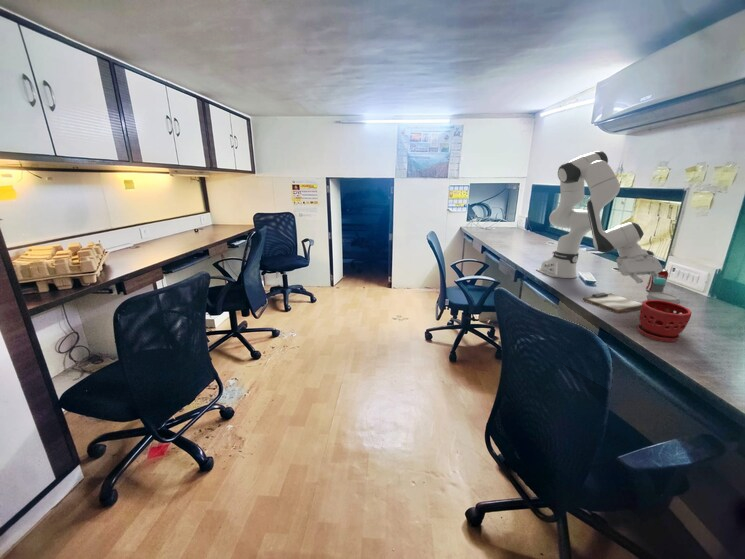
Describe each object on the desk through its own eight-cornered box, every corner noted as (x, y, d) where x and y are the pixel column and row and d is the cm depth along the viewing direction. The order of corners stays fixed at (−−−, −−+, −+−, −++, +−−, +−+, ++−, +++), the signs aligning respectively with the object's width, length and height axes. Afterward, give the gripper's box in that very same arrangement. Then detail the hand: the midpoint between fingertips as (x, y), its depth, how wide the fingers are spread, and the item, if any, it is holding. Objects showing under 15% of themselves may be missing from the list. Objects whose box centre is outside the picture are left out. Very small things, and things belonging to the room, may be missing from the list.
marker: (644, 305, 142) (652, 277, 138) (650, 304, 143) (658, 276, 139) (654, 309, 138) (662, 280, 134) (660, 307, 140) (668, 279, 136)
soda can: (666, 294, 156) (673, 271, 153) (650, 293, 158) (657, 270, 154) (657, 289, 163) (663, 267, 159) (642, 289, 164) (648, 267, 160)
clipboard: (582, 300, 149) (583, 295, 148) (610, 295, 155) (611, 291, 154) (617, 313, 134) (618, 307, 134) (646, 307, 140) (647, 302, 140)
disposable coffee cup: (633, 318, 129) (641, 291, 125) (657, 319, 128) (665, 291, 125) (652, 329, 120) (661, 300, 116) (678, 329, 119) (687, 300, 116)
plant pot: (626, 331, 118) (634, 302, 114) (648, 326, 122) (657, 297, 119) (667, 348, 106) (677, 315, 103) (690, 341, 111) (701, 310, 107)
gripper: (620, 253, 142) (636, 280, 136) (656, 251, 146) (673, 277, 140) (609, 260, 147) (623, 286, 141) (644, 259, 151) (659, 284, 145)
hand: (648, 282), depth 140 cm, fingers open, 8 cm apart
